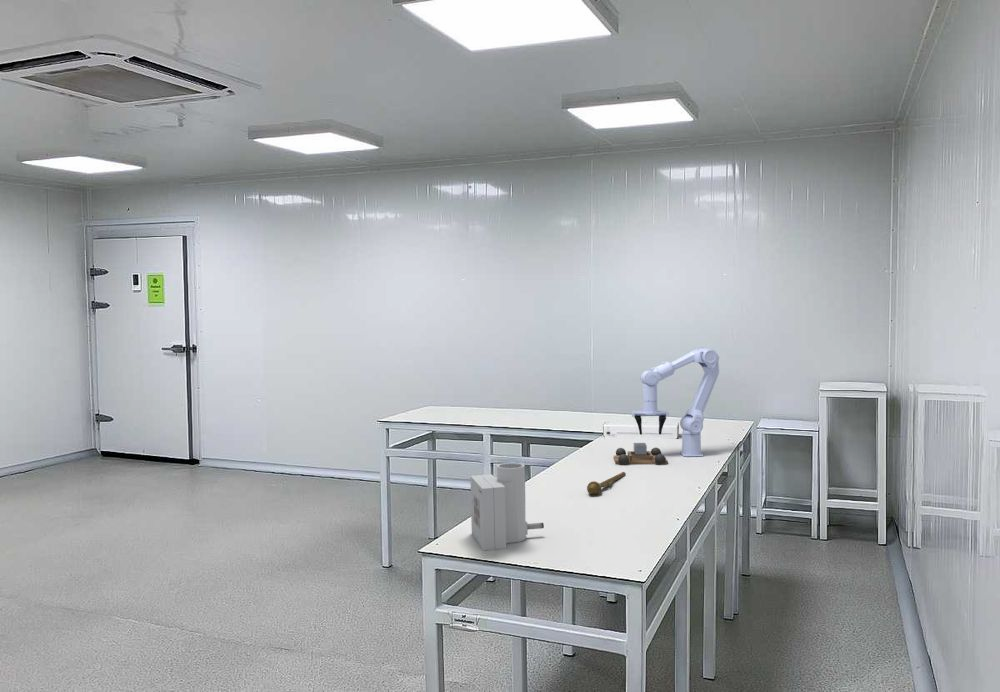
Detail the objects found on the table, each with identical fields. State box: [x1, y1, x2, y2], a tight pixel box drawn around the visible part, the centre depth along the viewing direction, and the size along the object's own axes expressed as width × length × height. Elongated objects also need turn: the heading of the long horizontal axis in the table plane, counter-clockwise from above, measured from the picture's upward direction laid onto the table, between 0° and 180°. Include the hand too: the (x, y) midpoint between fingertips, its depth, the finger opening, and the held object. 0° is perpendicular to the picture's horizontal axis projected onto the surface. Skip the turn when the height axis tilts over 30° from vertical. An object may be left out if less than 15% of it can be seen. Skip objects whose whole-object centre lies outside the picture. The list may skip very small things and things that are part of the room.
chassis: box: [613, 447, 669, 466], centre depth 323 cm, size 15×20×4 cm
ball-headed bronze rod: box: [586, 471, 626, 496], centre depth 282 cm, size 5×35×5 cm
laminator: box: [602, 421, 680, 440], centre depth 380 cm, size 34×12×6 cm, turn 76°
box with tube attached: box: [469, 462, 545, 551], centre depth 221 cm, size 16×19×20 cm
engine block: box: [633, 442, 648, 456], centre depth 322 cm, size 6×4×6 cm
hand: (650, 434), depth 330 cm, fingers open, 7 cm apart
